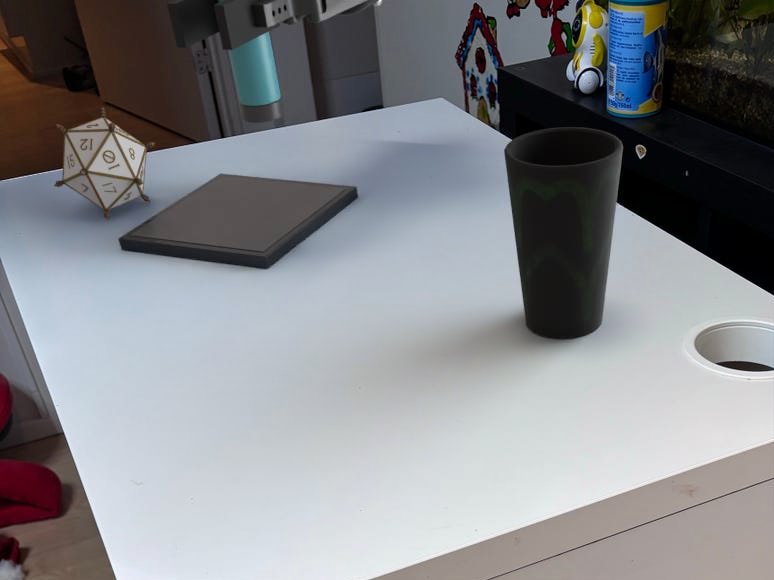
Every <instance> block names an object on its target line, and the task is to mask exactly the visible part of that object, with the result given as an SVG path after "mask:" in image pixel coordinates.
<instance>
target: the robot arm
mask: <svg viewBox="0 0 774 580" xmlns="http://www.w3.org/2000/svg"><path fill="white" fill-rule="evenodd" d="M382 5H383V0H224V1H222V2H219V3H218V0H172V1H169V2H167V3H166V6H167V11H168V15H169V19H170V20H169V21H170V23H171V27H172V28H171V29H172V31H173V37H174V40H175V45H176V48H179V49H181V48H182V49H186V48H189V47H191V46H193V45H195V44H197V43H199V42H201V41H204V40H206V39H207V38H210V37H212V36H214V35H216V34H218V33H219V37H220V42H221V46H222V50H223V51H229V50H233V49H235V48H237V47H239V46H241V45H243V44H245V43H247V42H249V41H251V40H253V39H255V38H257V37H259V36H261V35H263V34H265V33H267V32H269V33H270V32H271V31H272V30H275V29H277V28H278V27H280V26H281V23H282V24H285V25H288V26H291V25H295V24H297V23H298V22H300V21H301V20H302V19H303V18H305V17H306V18H307V22H309V23H312V24H320V23H321V22H323V21H326V20H328V19H330V18H332V17H334V16H340V17H341V16H342V17H347V16H352V15H355V14H358V13H360V12H362V11H364V10H366V9H368V8H369V7H371V6H374V7H378V6H382Z"/></svg>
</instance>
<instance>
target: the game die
mask: <svg viewBox="0 0 774 580" xmlns="http://www.w3.org/2000/svg"><path fill="white" fill-rule="evenodd" d="M99 112H100V113H99V115H100V116H101V117H97V118H95V119H93V120H90V121H87V122H85V123H82V124H80V125H77V126H74V127H71V128H69V129H66V128H65V126H63V124H57V123H56V124H55V125H56V127H57V130H58V131H60V133H63V153H62V154H63V155H62V174H61V175H62V177H61V180H59V179H58V180H56V181H55V183H54V185H53V187H57V188H61V187H63V185H65V186H66V187H68V188H69V189H71V190H72V191H74V192H76V193H77V194H78V195H80V196H81V197H83V198H85V199H86V200H87V201H89V202H91V203H92V204H93V205H95V206H97V207H98V208H100V210H103V213H102V214H103V215H102V217H103V218H104V219H105V221H106V222H107V221H108V219H109V218H110V212H109V211H112V210H113V209H116V208H118V207H120V206H122V205H125V204H127V203H129V202H132V201H134V200H136V199H139V198H142V200H144V202H151V201H150V200H151V199H150V197H149V196H148V195H147V194H145V193H144V191H145V190H144V188H145V178H146V164H147V154H148V153H147V152H148V149H150V150H151V149H153V148H154V146H155V144H156V142H152V141H148V142H147V143H145V144H144V143H143V142H141V140H139V139H138V138H136V137H134V136H133V135H131V134H130V133H129V132H127V131H126V130H125V129H123V128H121V127H120V126H119V125H118V124H116V123H114V122H113V121H111V120H110V119H109V118H107V117H106V116H107V110H106V109H105V107H104V106H103V107H102V108H101V109H100V111H99Z"/></svg>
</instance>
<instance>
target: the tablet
mask: <svg viewBox="0 0 774 580" xmlns="http://www.w3.org/2000/svg"><path fill="white" fill-rule="evenodd" d="M358 194H359V193H358V188H357V186H353V185H344V184H343V185H342V184H333V183H322V182H313V181H303V180H302V181H301V180H293V179H292V180H291V179H283V178H281V179H280V178H272V177H271V178H270V177H261V176H249V175H239V174H230V173H219V174H218V175H216V176H214V177H213V178H211V179H209V180H208V181H206V182H205V183H204V184H201V185H200V186H199V187H197V188H196V189H194V190H192V191H191V192H189V193H187V194H186V195H184V196H183V197H181V198H179V199H178V200H177V201H175V202H173V203H171V204H170V205H169V206H167V207H166V208H164V209H162V210H161V211H159V212H158V213H156V214H155V215H153V216H152V217H150V218H148V219H147V220H145V221H144V222H142V223H140V224H139V225H137V226H136V227H134V228H133V229H131V230H130V231H128V232H126V233H125V234H123V235H121V236H119V237H118V238H117V239H118V243H119V246H120V249H121V250H123V251H129V252H137V253H138V252H139V253H145V254H154V255H160V256H168V257H176V258H184V259H191V260H198V261H199V260H200V261H208V262H213V263H214V262H215V263H222V264H231V265H237V266H245V267H253V268H261V269H270V268H271V266H273V265H275V263H277V262H279V260H281V259H282V258H283V257H284V256H285V255H287V254H288V253H290V252H291V251H292V250H294V248H296V247H297V246H298V245H300V244H301V243H302V242H304V241H305V240H306V239H307V238H309V237H310V236H311V235H312V234H313V233H315V232H316V231H318V230H319V229H320V228H321V227H322V226H324V225H325V224H326V223H328V222H329V221H330V220H331V219H333V218H334V217H335V216H337V215H338V214H339V213H340V212H342V211H343V210H344V209H346V207H348V206H349V205H350V204H352V203H353V202H354V201H355V200H357V199H358V198H359V195H358Z"/></svg>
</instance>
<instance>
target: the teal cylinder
mask: <svg viewBox="0 0 774 580" xmlns="http://www.w3.org/2000/svg"><path fill="white" fill-rule="evenodd" d="M222 1H224V0H218V3H219V2H222ZM228 54H229V59H230V64H231V69H232V73H233V77H234V83H235V88H236V92H237V98H238V102H239V107H240V111H241V116H242V120H243V121H244V122H247V123H252V124H253V123H254V124H259V123H260V124H261V123H262V124H263V123H269V122H272V121H273V122H274V121H276V120H278V119H280V118H282V117H283V116H284V113H285V112H284V107H283V101H282V97H281V90H280V85H279V79H278V73H277V68H276V63H275V57H274V51H273V46H272V40H271V35H270V31H269V32H267V33H265V34H263V35H261V36H259V37H257V38H255V39H253V40H251V41H249V42H247V43H245V44H243V45H241V46H239V47H237V48H235V49H233V50H228Z"/></svg>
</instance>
